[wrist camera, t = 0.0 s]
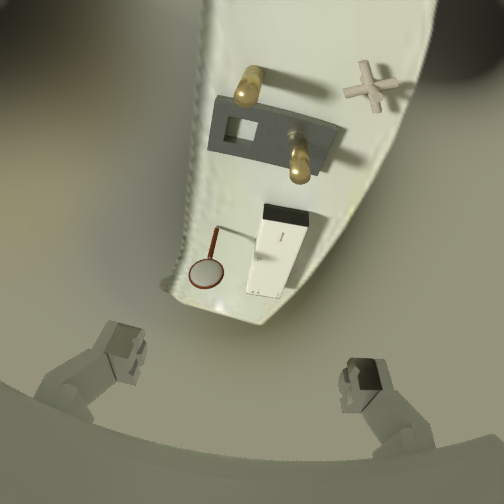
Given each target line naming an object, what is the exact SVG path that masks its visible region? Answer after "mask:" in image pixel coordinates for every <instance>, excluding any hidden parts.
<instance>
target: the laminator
mask: <svg viewBox="0 0 504 504" xmlns="http://www.w3.org/2000/svg"><path fill="white" fill-rule="evenodd" d="M308 227H309V213H308V212H304V211H299V210H293V209H288V208H283V207H277V206H271V205H266V204H264V205H263V210H262V215H261V219H260V224H259V228H258V233H257V238H256V242H255V247H254V251H253V256H252V261H251V265H250V270H249V274H248V280H247V287H246V293H247V294H252V295H259V296H265V297H272V298H280V296H281V294H282V292H283V289H284V287H285V284H286V283H287V280H288V277H289V275H290V272H291V270H292V267H293V265H294V262H295V260H296V258H297V255H298V253H299V250H300V248H301V245H302V242H303V240H304V237H305V235H306V232H307V230H308Z"/></svg>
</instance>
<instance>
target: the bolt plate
mask: <svg viewBox="0 0 504 504" xmlns="http://www.w3.org/2000/svg"><path fill="white" fill-rule="evenodd" d="M229 116H231V117H236V118H241V119H245V120H250V121H254V122H258V125H257V129H256V133H255V137H254V141H249V140H245V139H240V138H235V137H231V136H226V130H227V124H228V119H229ZM336 132H337V127H336V125H335V124H332V123H329V122H326V121H323V120H319V119H316V118H313V117H309V116H306V115H302V114H299V113H295V112H291V111H288V110H284V109H280V108H276V107H272V106H268V105H263V104H259V103H256V104H255V105H254V106H252V107H250V108H242V107H240V106H238V105H237V104H236V103H235V101H234V98H231V97H225V96H220V95H217V97H216V99H215V103H214V109H213V115H212V122H211V128H210V135H209V142H208V149H207V150H209V151H214V152H219V153H224V154H229V155H233V156H238V157H242V158H247V159H251V160H256V161H260V162H264V163H269V164H273V165H277V166H281V167H285V168H289V169H290V179H291V181H292V182H293V183H295V184H299V185H302V184H305V183H307V182H308V181H309V180H310V174H311V175H315V176H318V174H319V171H320V169H321V167H322V164H323V162H324V160H325V158H326V155H327V153H328V151H329V148H330V146H331V144H332V141H333V139H334V137H335V134H336Z"/></svg>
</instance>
